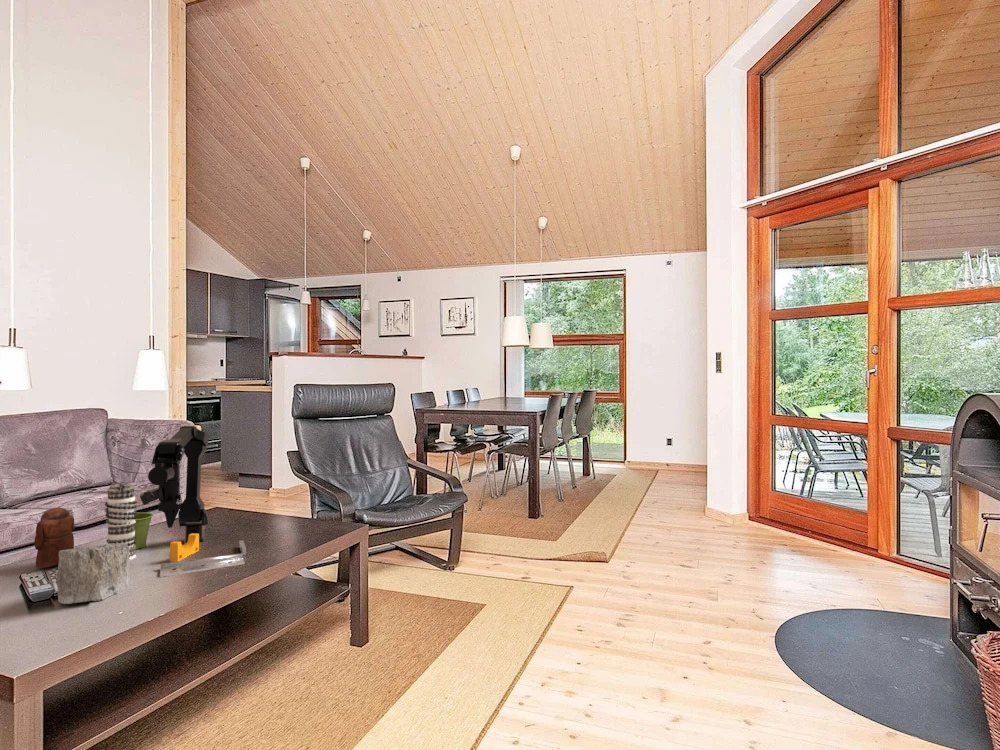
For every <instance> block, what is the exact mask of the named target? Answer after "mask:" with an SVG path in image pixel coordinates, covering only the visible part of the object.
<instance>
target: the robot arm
mask: <svg viewBox="0 0 1000 750" xmlns="http://www.w3.org/2000/svg"><path fill="white" fill-rule="evenodd" d="M208 445H209V437H208V435H207V433H206V432H205V431H202V430H200V429H198V428H197V426H195V425H183V426H180V427H179V430H177V432H176V433H175V434H174V435H173V436H171V438H169V439H164V440H161V441H159V442H158V443H157V445H156V447H155V450H154V454H153V457H152V461H151V464H152V465H154V467H153V468H152V469H151V470H149V472H148V474H147V478H148V480H149V482H150V484H152V485H155V486H158V487H156V488H153V489H151V490H147V491H143V492H142V493H141V494H140V495H139V498H140V501H141V502H142V505H143V506H145V505H148V504H149V503H152V502H154V501H156V500H158V501H159V502H158V505H157V507H158V508H157V509H158V510H157V511H158V512H162V513H163V514H164V517H165V520H166V524H167V528H169V529H170V528H171V529H172V528H173V526H174V523H175V521H176V519H177V518H178V524H179V527H184V528H185V532H184V533H185V534H184V535H185V536H184V537H185V538H184V539H183V544H185V543H187V542H188V537H189V535H190V534H192V533H195V534H199V543H204V542H205V538H204V533H203V532H204V531H203V530H204V529H203V528H204V526H206V525H209V515H208V512H207V510H206V509H205V503H204V501H203V499H202V498H201V476H202V475H201V474H202V457H203V456H204V454H205V453H206V452H207V446H208ZM184 455H185V457H186V459H187V460H186V478H185V479H186V480H185V481H186V482H185V498H184V499H183V501H182V500H181V499H182V498H181V493H180V489H181V486H180V485H181V484H180V476H181V475H180V473H181V471H180V469H181V468H180V466H181V465H180V464H181V461H182V460H183V457H184ZM181 501H182V502H181ZM177 516H178V517H177Z"/></svg>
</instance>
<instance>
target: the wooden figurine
mask: <svg viewBox="0 0 1000 750" xmlns="http://www.w3.org/2000/svg"><path fill="white" fill-rule="evenodd" d="M35 527H36V528H35V537H34V548H35V549H36V550H37V552H36V558H35V568H41V569H42V568H43V569H44V568H45V569H46V568H50V567H54V566H58V565H59V556H58V555H59V551H61V550H68V549H75V537H74V533H73V532H74V530H75V529H76V528H75V527H76V526H75V518H74V516H73V515H71V514H70V512H69V511H68V510H67V509H66V508H63V507H52V508H49V509H47V510H46V511H44V512H43V514H42V515H41V517H40V520H39V521H38V522H37V524H36V525H35Z"/></svg>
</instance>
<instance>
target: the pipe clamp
mask: <svg viewBox="0 0 1000 750" xmlns="http://www.w3.org/2000/svg"><path fill="white" fill-rule="evenodd" d="M169 544H170V545H169V547H170V548H169V552H170V553H169V557H170V559H169V563H170V562H175V561H176V562H178V561H183V560H184V559H185V558H188V557H189V555H190V556H192V555H193V554H195V553H197V552H199V551H200V542H199V534H195V533H192V534H190V535H189V537H188V542H187V543H185V544H184V543H183V544H182V541H172V542H170V543H169ZM191 554H192V555H191ZM187 556H188V557H187Z"/></svg>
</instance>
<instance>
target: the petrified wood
mask: <svg viewBox="0 0 1000 750" xmlns="http://www.w3.org/2000/svg"><path fill="white" fill-rule="evenodd" d="M58 556H59V564H57V566H58V568H57V573H56V581H57V598H58V599H57V602H58V603H60V604H63V605H70V604H77V603H87V602H90V601H93V602H101V601H104V600H105V599H107V598H108V597H112V596H114V595H117V594H119V593H120V592H122V591H123V590H125V588H128V587H129V586H130V564H131V563H130V560H129V549H128V545H127V544H118V545H110V544H108V543H106V544H103V545H99V546H98V545H97V546H90V547H89V546H88V547H87V546H86V547H79V548H77V547H76V548H75V547H74V549H68V550H61V551H59V555H58Z"/></svg>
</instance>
